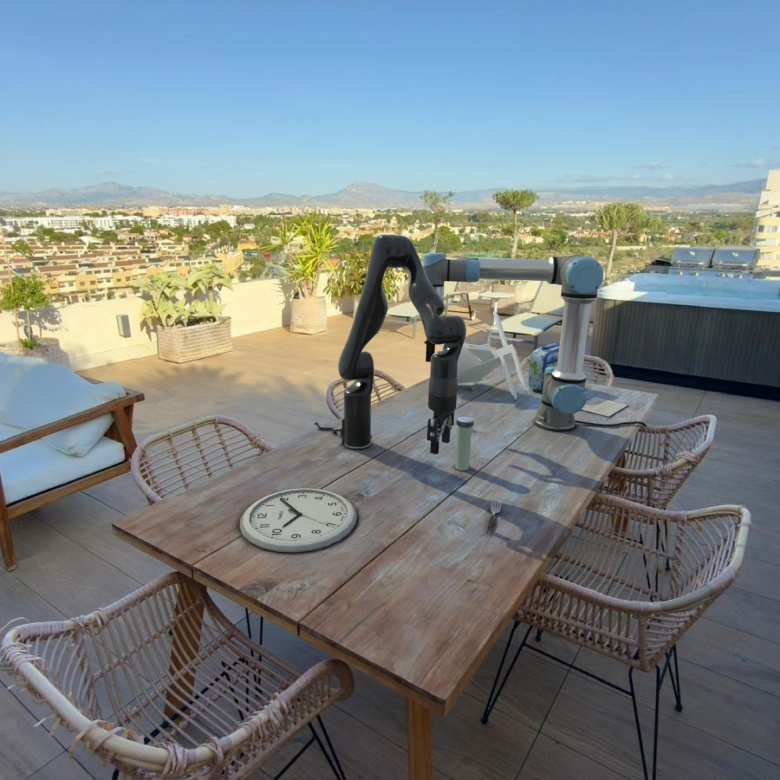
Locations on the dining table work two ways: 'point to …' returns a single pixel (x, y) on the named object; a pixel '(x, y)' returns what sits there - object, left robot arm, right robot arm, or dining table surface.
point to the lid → (465, 422)
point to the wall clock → (298, 520)
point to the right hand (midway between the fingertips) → (430, 357)
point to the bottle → (463, 448)
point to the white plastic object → (489, 361)
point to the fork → (493, 510)
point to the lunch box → (542, 364)
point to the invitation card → (603, 406)
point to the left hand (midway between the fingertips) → (440, 447)
